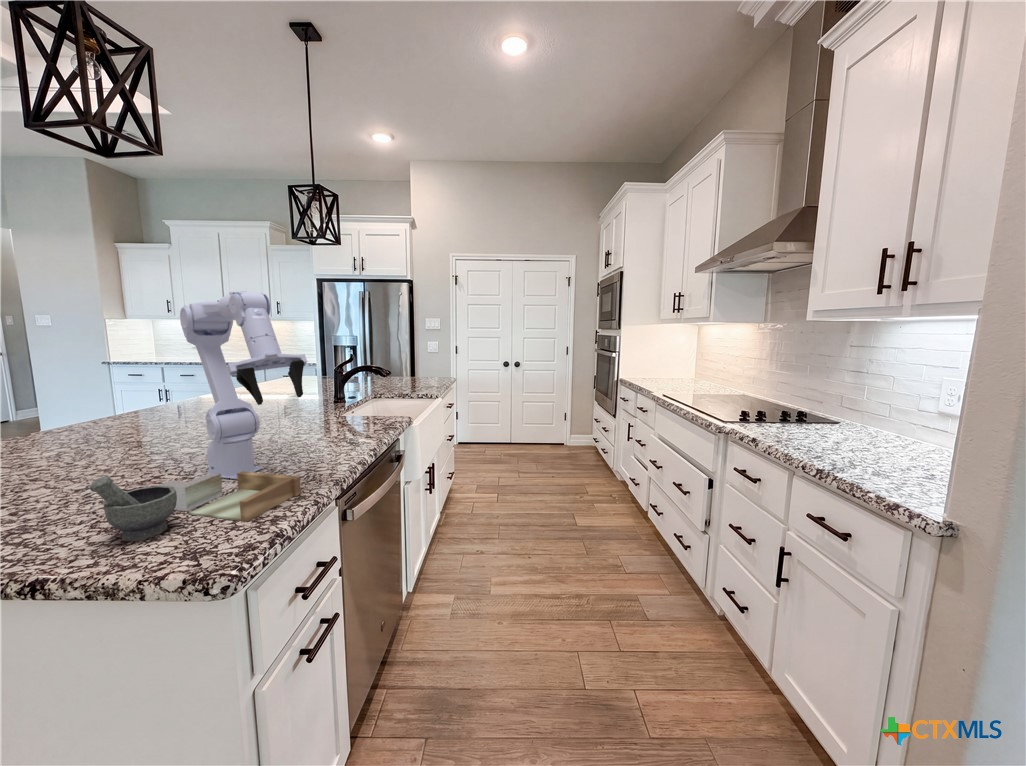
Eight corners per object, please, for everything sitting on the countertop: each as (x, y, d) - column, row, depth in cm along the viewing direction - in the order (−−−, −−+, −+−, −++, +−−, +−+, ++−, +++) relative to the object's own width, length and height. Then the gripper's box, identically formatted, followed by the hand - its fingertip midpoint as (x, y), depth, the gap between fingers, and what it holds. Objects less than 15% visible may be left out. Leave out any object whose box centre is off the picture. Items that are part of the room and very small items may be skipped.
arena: (186, 514, 80) (184, 494, 79) (243, 487, 93) (242, 471, 92) (251, 522, 77) (249, 502, 76) (300, 493, 90) (299, 476, 89)
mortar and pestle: (163, 515, 79) (157, 456, 77) (191, 525, 75) (184, 464, 73) (84, 542, 69) (75, 476, 67) (111, 556, 65) (102, 485, 63)
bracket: (187, 511, 81) (184, 487, 80) (161, 508, 82) (158, 484, 81) (222, 495, 88) (220, 473, 88) (198, 492, 90) (196, 471, 89)
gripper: (223, 336, 79) (243, 399, 76) (301, 330, 89) (321, 385, 87) (220, 352, 83) (238, 412, 81) (294, 345, 94) (313, 397, 91)
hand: (281, 399), depth 84 cm, fingers open, 7 cm apart
